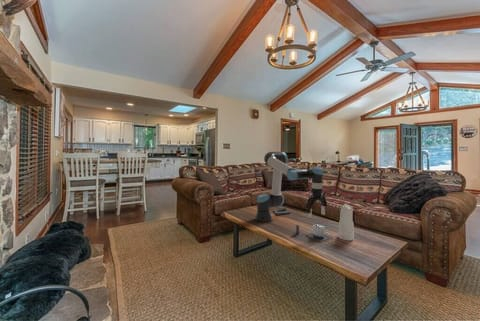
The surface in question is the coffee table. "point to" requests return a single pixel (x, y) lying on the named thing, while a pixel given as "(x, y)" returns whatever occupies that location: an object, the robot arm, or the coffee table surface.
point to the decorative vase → (346, 223)
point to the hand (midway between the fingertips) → (316, 215)
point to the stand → (297, 231)
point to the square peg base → (319, 237)
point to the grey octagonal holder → (319, 230)
